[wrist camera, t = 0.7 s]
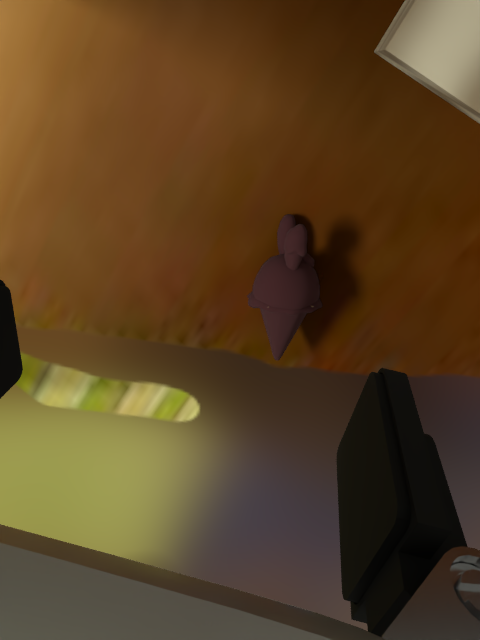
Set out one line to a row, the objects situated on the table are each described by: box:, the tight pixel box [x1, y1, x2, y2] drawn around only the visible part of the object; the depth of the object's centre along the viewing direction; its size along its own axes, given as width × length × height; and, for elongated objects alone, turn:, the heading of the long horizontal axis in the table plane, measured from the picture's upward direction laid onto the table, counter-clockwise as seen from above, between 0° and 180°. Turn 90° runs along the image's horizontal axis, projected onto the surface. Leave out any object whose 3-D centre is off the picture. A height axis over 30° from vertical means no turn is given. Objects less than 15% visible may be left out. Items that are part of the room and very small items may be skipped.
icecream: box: [247, 214, 323, 360], centre depth 40 cm, size 7×7×15 cm
